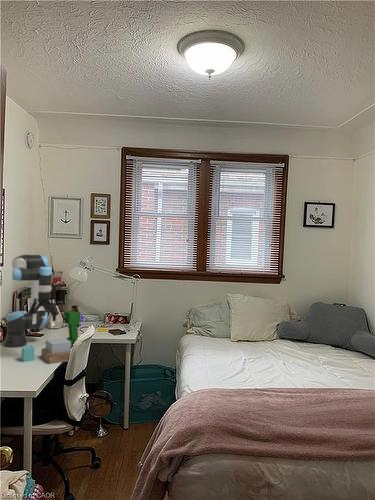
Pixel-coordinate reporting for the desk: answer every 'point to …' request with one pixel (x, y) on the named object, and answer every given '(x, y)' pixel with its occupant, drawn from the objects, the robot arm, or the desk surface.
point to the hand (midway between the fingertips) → (43, 325)
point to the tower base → (54, 356)
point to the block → (27, 354)
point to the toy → (72, 323)
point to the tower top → (58, 345)
